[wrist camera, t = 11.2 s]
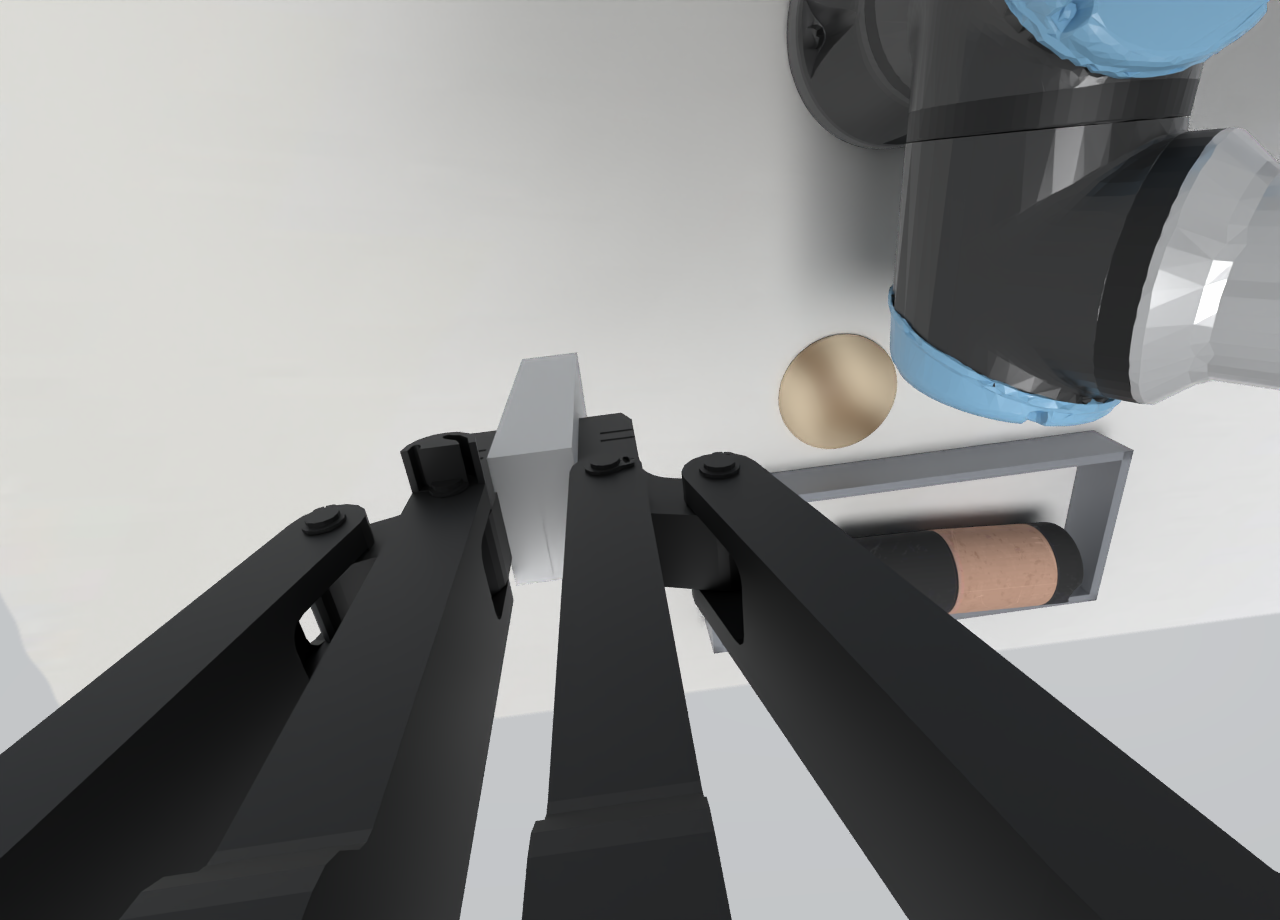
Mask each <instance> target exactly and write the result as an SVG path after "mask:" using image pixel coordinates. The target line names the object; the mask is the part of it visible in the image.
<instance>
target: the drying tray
mask: <svg viewBox="0 0 1280 920" xmlns="http://www.w3.org/2000/svg"><path fill="white" fill-rule="evenodd" d="M1133 451H1134V450H1132V449H1130V448H1128V447H1126V446H1124V445H1122V444H1120V443H1118V442H1116V441H1114V440H1112V439H1110V438H1108V437H1106V436H1104V435H1102V434H1100V433H1098V432H1096V431H1087V432H1079V433H1072V434H1064V435H1056V436H1049V437H1041V438H1034V439H1026V440H1019V441H1011V442H1003V443H996V444H988V445H981V446H973V447H966V448H958V449H950V450H943V451H935V452H928V453H920V454H913V455H905V456H897V457H890V458H882V459H875V460H867V461H860V462H852V463H844V464H837V465H829V466H822V467H814V468H806V469H799V470H791V471H784V472H776V473H771V474H772V475H773V476H774V477H776V478H777V479H778V480H780V481H781V482H782V483H783V484H785V485H786V486H787V487H788V488H790V489H791V490H792V491H793V492H795V493H796V494H797V495H799V496H800V497H801V498H802V499H804V500H805V501H806V502H812V501H820V500H827V499H835V498H842V497H850V496H857V495H865V494H872V493H880V492H887V491H895V490H902V489H910V488H917V487H925V486H932V485H940V484H947V483H955V482H962V481H970V480H977V479H985V478H992V477H1000V476H1007V475H1015V474H1022V473H1030V472H1037V471H1045V470H1052V469H1060V468H1067V467H1075V466H1078V468H1077V473H1076V478H1075V482H1074V487H1073V492H1072V497H1071V501H1070V506H1069V511H1068V516H1067V520H1066V525H1065V531H1067V533H1068V534H1069V535H1070V536H1071V537H1072V538H1073V540H1074V542H1075V543H1076V545H1077V547H1078V549H1079V552H1080V554H1081V558H1082V562H1083V570H1084V576H1083V582H1082V584H1081V585H1080V586H1079V587H1078V588H1076V589H1075V591H1074V592H1073V593H1072V594H1071V596H1070V597H1069V599H1068V600H1069V602H1067V603H1061V604H1049V605H1039V606H1029V607H1018V608H1008V609H998V610H988V611H977V612H967V613H957V614H949V615H951V616H952V617H953V618H954V619H956V620H957V619H964V618H971V617H978V616H986V615H993V614H1000V613H1007V612H1014V611H1021V610H1029V609H1036V608H1043V607H1050V606H1057V605H1064V604H1072V603H1079V602H1086V601H1093V600H1096V599H1097V595H1098V591H1099V587H1100V583H1101V579H1102V575H1103V571H1104V567H1105V563H1106V559H1107V555H1108V551H1109V547H1110V543H1111V539H1112V535H1113V531H1114V527H1115V523H1116V519H1117V515H1118V511H1119V507H1120V503H1121V499H1122V495H1123V491H1124V487H1125V483H1126V479H1127V475H1128V471H1129V467H1130V463H1131V459H1132V455H1133ZM705 621H706V626H707V629H708V633H709V637H710V640H711V644H712V648H713V652H714V653H720V652H728V651H727V649H726V648H725V647H724V645H723V644H722V642H721V641H720V639H719V638H718V636H717V635H716V633H715V632H714V630H713V629H712V627H711V626H710V624H709V623H708V621H707V620H706V618H705Z"/></svg>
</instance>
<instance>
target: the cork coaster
mask: <svg viewBox="0 0 1280 920" xmlns="http://www.w3.org/2000/svg"><path fill="white" fill-rule="evenodd" d="M896 390H897V376H896V371H895V367H894V365H893V362H892V360H891V359H890V357H889V355H888V354H887V353H886V352H885V351H884V349H882V348H881V347H880V346H879V345H877V344H876V343H874V342H873V341H871V340H869V339H867V338H864V337H861V336H858V335H851V334H840V335H833V336H829V337H826V338H823V339H821V340H818V341H816V342H815V343H813V344H811V345H810V346H808V347H807V348H805V349H804V350H803V351H802V352H801V353H800V354H798V355H797V357H796V358H795V359H794V360H793V361H792V363H791V364H790V366H789V367H788V368H787V370H786V372H785V374H784V376H783V379H782V382H781V386H780V390H779V408H780V413H781V416H782V419H783V421H784V423H785V425H786V426H787V427H788V429H789V430H790V431H791V432H792V434H793V435H794V436H795V437H797V438H798V439H799V440H801V441H802V442H804V443H806V444H808V445H810V446H813V447H817V448H823V449H836V448H842V447H846V446H850V445H852V444H855V443H857V442H859V441H861V440H863V439H864V438H866V437H867V436H869V435H870V434H871V433H872V432H874V431H875V430H876V429H877V428H878V427H879V426H880V425H881V424H882V422H883V421H884V420H885V418H886V417H887V415H888V413H889V412H890V410H891V408H892V405H893V403H894V399H895V396H896Z"/></svg>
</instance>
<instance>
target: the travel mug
mask: <svg viewBox="0 0 1280 920" xmlns="http://www.w3.org/2000/svg"><path fill="white" fill-rule="evenodd" d="M853 539H854V540H856V541H857V542H858V543H859V544H861V545H862V546H863V547H864V548H866V549H867V550H868V551H870V552H871V553H872V554H873V555H875V556H876V557H877V558H878V559H880V560H881V561H882V562H883V563H885V564H886V565H887V566H889V567H890V568H891V569H892V570H894V571H895V572H896V573H897V574H899V575H900V576H901V577H902V578H904V579H905V580H906V581H908V582H909V583H910V584H911V585H913V586H914V587H915V588H916V589H918V590H919V591H920V592H921V593H923V594H924V595H925V596H927V597H928V598H929V599H930V600H932V601H933V602H934V603H935V604H937V605H938V606H939V607H941V608H942V609H943V610H944V611H946V612H947V613H948V614H957V613H967V612H977V611H988V610H998V609H1008V608H1018V607H1029V606H1039V605H1049V604H1061V603H1067V602H1069V600H1068V599H1069V597H1070V596H1071V594H1072V593H1073V592H1074V591H1075V589H1076V588H1078V587H1079V586H1080V585H1081V584H1082V582H1083V576H1084V570H1083V562H1082V558H1081V554H1080V552H1079V549H1078V547H1077V545H1076V543H1075V542H1074V540H1073V538H1072V537H1071V536H1070V535H1069V534H1068V533H1067V531H1065V530H1064V529H1063V528H1061V527H1060V526H1058V525H1056V524H1053V523H1048V522H1039V523H1024V524H1010V525H995V526H980V527H965V528H950V529H936V530H924V531H914V532H905V533H896V534H887V535H878V536H869V537H860V538H853Z"/></svg>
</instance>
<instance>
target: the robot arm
mask: <svg viewBox="0 0 1280 920" xmlns="http://www.w3.org/2000/svg"><path fill="white" fill-rule="evenodd" d="M1268 1H1270V0H791V2H790V8H789V15H788V27H787V44H788V55H789V62H790V67H791V71H792V75H793V78H794V82H795V84H796V87H797V90H798V92H799V94H800V96H801V98H802V100H803V102H804V104H805V105H806V107H807V108H808V110H809V111H810V113H811V114H812V115H813V117H814V118H815V119H816V120H817V121H818V122H819V123H820V124H821V125H822V126H823V127H824V128H825V129H826V130H827V131H829V132H830V133H831V134H833V135H834V136H836V137H837V138H839V139H841V140H843V141H845V142H847V143H850V144H853V145H856V146H859V147H864V148H871V149H890V148H899V147H905V154H904V166H903V177H902V188H901V200H900V211H899V223H898V234H897V246H896V257H895V269H894V280H893V285H892V286H891V287H890V289H889V295H888V304H889V308H890V312H891V331H890V353H891V357H892V360H893V362H894V363H895V365H896V367H897V369H898V370H899V372H900V374H901V376H902V377H903V378H904V379H905V380H906V381H907V382H908V383H909V384H911V385H912V386H913V387H914V388H916V389H917V390H918V391H920V392H922V393H923V394H925V395H927V396H928V397H930V398H932V399H934V400H936V401H938V402H941V403H943V404H945V405H948V406H950V407H953V408H956V409H958V410H961V411H964V412H967V413H971V414H974V415H977V416H981V417H985V418H989V419H994V420H999V421H1004V422H1010V423H1018V424H1021V423H1023V422H1025V421H1026V420H1031V421H1034V422H1036V423H1039V424H1041V425H1044V426H1072V425H1079V424H1084V423H1089V422H1093V421H1095V420H1097V419H1099V418H1102V417H1103V416H1105V415H1107V414H1108V413H1109V412H1111V411H1112V409H1113V408H1114V407H1115V406H1116V405H1118V404H1119V403H1120V402H1121V400H1123V401H1128V402H1134V403H1139V404H1150V405H1154V404H1156V403H1158V402H1161V401H1163V400H1165V399H1167V398H1169V397H1171V396H1173V395H1175V394H1177V393H1179V392H1181V391H1183V390H1185V389H1188V388H1190V387H1192V386H1194V385H1196V384H1200V383H1205V382H1209V381H1220V382H1227V383H1234V384H1240V385H1247V386H1254V387H1261V388H1267V389H1274V390H1280V162H1277V161H1276V159H1275V158H1274V157H1273V156H1272V155H1271V154H1270V153H1269V152H1268V151H1267V150H1266V149H1265V148H1264V147H1263V146H1262V145H1261V144H1260V143H1259V142H1258V141H1257V140H1256V139H1255V138H1254V137H1253V136H1252V135H1251V134H1250V133H1249V132H1248V131H1247V130H1245V129H1243V128H1224V129H1212V130H1200V131H1188V124H1189V117H1183V116H1190V115H1191V110H1192V106H1193V103H1194V99H1195V95H1196V91H1197V87H1198V83H1199V80H1200V76H1201V72H1202V69H1203V65H1204V62H1205V61H1206V60H1207V59H1208V58H1209V57H1211V56H1212V55H1213V54H1217V53H1218V52H1219V51H1220V50H1221V49H1223V48H1225V47H1226V46H1228V45H1229V44H1231V43H1232V42H1234V41H1235V40H1237V39H1238V38H1240V37H1241V36H1242V35H1244V34H1245V33H1246V32H1247V31H1249V30H1250V29H1251V28H1252V27H1254V26H1255V25H1256V24H1257V23H1258V22H1259V21H1260V20H1261V19H1262V17H1263V16H1264V15H1265V13H1266V12H1267V4H1266V3H1267V2H1268ZM400 453H401V456H402V459H403V463H404V466H405V469H406V473H407V476H408V480H409V483H410V486H411V490H412V495H411V497H410V499H409V500H408V502H407V504H406V506H405V508H404V509H403V511H402V513H401V515H399V516H396V517H393V518H389V519H386V520H382V521H378V522H375V523H371V524H370V523H369V520H368V517H367V514H366V512H365V509H364V508H362V507H360V506H359V505H350V504H345V505H329V506H326V508H324V507H321V508H318V509H315V510H314V511H313V512H312V513H309V514H307V515H305V516H302V517H301V518H299V519H298V520H296V521H294V522H293V523H291V524H290V525H289V526H287V527H286V528H285V529H284V530H282V531H281V532H280V533H279V534H277V535H276V536H275V537H274V538H272V539H271V540H270V541H269V542H267V543H266V544H265V545H264V546H262V547H261V548H260V549H258V550H257V551H256V552H255V553H253V554H252V555H251V556H250V557H248V558H247V559H246V560H245V561H243V562H242V563H241V564H240V565H238V566H237V567H236V568H235V569H233V570H232V571H231V572H230V573H228V574H227V575H226V576H225V577H223V578H222V579H221V580H219V581H218V582H217V583H216V584H214V585H213V586H212V587H211V588H209V589H208V590H207V591H206V592H204V593H203V594H202V595H201V596H199V597H198V598H197V599H196V600H194V601H193V602H192V603H191V604H189V605H188V606H187V607H185V608H184V609H183V610H182V611H180V612H179V613H178V614H177V615H175V616H174V617H173V618H172V619H170V620H169V621H168V622H167V623H165V624H164V625H163V626H162V627H160V628H159V629H158V630H157V631H155V632H154V633H153V634H152V635H150V636H149V637H148V638H146V639H145V640H144V641H143V642H141V643H140V644H139V645H138V646H136V647H135V648H134V649H133V650H131V651H130V652H129V653H128V654H126V655H125V656H124V657H123V658H121V659H120V660H119V661H118V662H116V663H115V664H114V665H113V666H111V667H110V668H109V669H107V670H106V671H105V672H104V673H102V674H101V675H100V676H99V677H97V678H96V679H95V680H94V681H92V682H91V683H90V684H89V685H87V686H86V687H85V688H84V689H82V690H81V691H80V692H79V693H77V694H76V695H75V696H73V697H72V698H71V699H70V700H68V701H67V702H66V703H65V704H63V705H62V706H61V707H60V708H58V709H57V710H56V711H55V712H53V713H52V714H51V715H50V716H48V717H47V718H46V719H45V720H43V721H42V722H41V723H40V724H38V725H37V726H36V727H35V728H33V729H32V730H31V731H29V732H28V733H27V734H26V735H24V736H23V737H22V738H21V739H19V740H18V741H17V742H16V743H14V744H13V745H12V746H11V747H9V748H8V749H7V750H6V751H4V752H3V753H2V754H0V920H459V919H460V913H461V907H462V901H463V895H464V889H465V883H466V878H467V872H468V866H469V860H470V854H471V848H472V842H473V836H474V830H475V824H476V819H477V812H478V807H479V801H480V795H481V789H482V783H483V777H484V771H485V765H486V759H487V754H488V747H489V742H490V735H491V730H492V724H493V718H494V712H495V706H496V700H497V695H498V689H499V683H500V677H501V671H502V665H503V659H504V653H505V647H506V641H507V635H508V630H509V624H510V618H511V612H512V606H513V595H512V591H511V586H510V582H509V578H508V577H509V572H510V567H511V565H512V569H513V573H514V578H515V582H516V586H517V585H524V584H531V583H539V582H546V581H554V580H561V579H562V594H561V609H560V624H559V640H558V655H557V670H556V686H555V701H554V718H553V732H552V747H551V762H550V763H551V764H550V778H549V794H548V805H547V814H546V817H545V820H540V821H536V822H535V824H534V827H533V830H532V832H531V837H530V845H529V851H528V858H527V869H526V880H525V891H524V902H523V913H522V920H732V919H731V914H730V909H729V904H728V898H727V894H726V888H725V883H724V878H723V872H722V867H721V862H720V857H719V852H718V846H717V841H716V836H715V831H714V826H713V822H712V817H711V813H710V807H709V804H708V801H707V797H704V795H703V791H702V787H701V781H700V776H699V771H698V765H697V760H696V754H695V749H694V744H693V738H692V733H691V728H690V723H689V718H688V711H687V706H686V700H685V695H684V690H683V684H682V679H681V674H680V668H679V663H678V657H677V652H676V647H675V641H674V636H673V630H672V625H671V620H670V614H669V609H668V603H667V598H666V593H665V587H675V588H687V589H692V595H693V598H694V601H695V604H696V605H697V607H698V608H699V610H700V611H701V612H702V614H703V615H704V617H705V618H706V620H707V621H708V623H709V624H710V626H711V627H712V629H713V630H714V632H715V633H716V635H717V636H718V638H719V639H720V641H721V642H722V644H723V645H724V647H725V648H726V649H727V651H728V652H729V654H730V655H731V657H732V658H733V660H734V661H735V663H736V664H737V666H738V667H739V669H740V670H741V672H742V673H743V675H744V676H745V678H746V679H747V681H748V682H749V684H750V685H751V687H752V688H753V689H754V691H755V692H756V694H757V695H758V697H759V698H760V700H761V701H762V703H763V704H764V706H765V707H766V709H767V710H768V712H769V713H770V714H771V716H772V718H773V719H774V721H775V722H776V724H777V725H778V726H779V728H780V729H781V731H782V732H783V734H784V735H785V737H786V738H787V740H788V741H789V742H790V744H791V746H792V747H793V749H794V750H795V752H796V753H797V755H798V756H799V757H800V759H801V761H802V762H803V763H804V765H805V766H806V768H807V769H808V771H809V772H810V774H811V775H812V777H813V778H814V780H815V781H816V783H817V784H818V786H819V787H820V789H821V790H822V791H823V793H824V795H825V796H826V797H827V799H828V800H829V802H830V803H831V805H832V806H833V808H834V809H835V811H836V812H837V814H838V815H839V817H840V818H841V820H842V821H843V822H844V824H845V826H846V827H847V829H848V830H849V832H850V833H851V835H852V836H853V837H854V839H855V840H856V842H857V843H858V845H859V846H860V848H861V849H862V851H863V852H864V854H865V855H866V857H867V858H868V860H869V861H870V863H871V864H872V866H873V867H874V868H875V870H876V872H877V873H878V874H879V876H880V878H881V879H882V880H883V882H884V883H885V885H886V886H887V888H888V889H889V891H890V892H891V894H892V895H893V897H894V898H895V900H896V901H897V903H898V904H899V906H900V907H901V909H902V910H903V912H904V913H905V915H906V916H907V917H908V919H909V920H1280V873H1278V872H1276V871H1274V870H1273V869H1271V868H1270V867H1269V866H1267V865H1266V864H1265V863H1264V862H1262V861H1261V860H1260V859H1259V858H1257V857H1256V856H1255V855H1253V854H1252V853H1251V852H1250V851H1249V850H1247V849H1246V848H1245V847H1243V846H1242V845H1241V844H1240V843H1238V842H1237V841H1236V840H1235V839H1233V838H1232V837H1231V836H1229V835H1228V834H1227V833H1226V832H1224V831H1223V830H1222V829H1221V828H1219V827H1218V826H1217V825H1215V824H1214V823H1213V822H1212V821H1210V820H1209V819H1208V818H1207V817H1205V816H1204V815H1203V814H1201V813H1200V812H1199V811H1198V810H1196V809H1195V808H1194V807H1193V806H1191V805H1190V804H1189V803H1188V802H1186V801H1185V800H1184V799H1183V798H1181V797H1180V796H1179V795H1177V794H1176V793H1175V792H1174V791H1172V790H1171V789H1170V788H1168V787H1167V786H1166V785H1165V784H1164V783H1162V782H1161V781H1160V780H1159V779H1157V778H1156V777H1155V776H1153V775H1152V774H1151V773H1149V772H1148V771H1147V770H1146V769H1145V768H1143V767H1142V766H1141V765H1139V764H1138V763H1137V762H1136V761H1134V760H1133V759H1132V758H1130V757H1129V756H1128V755H1127V754H1126V753H1124V752H1123V751H1122V750H1120V749H1119V748H1118V747H1117V746H1115V745H1114V744H1113V743H1112V742H1110V741H1109V740H1108V739H1107V738H1105V737H1104V736H1103V735H1101V734H1100V733H1099V732H1098V731H1096V730H1095V729H1094V728H1093V727H1091V726H1090V725H1089V724H1087V723H1086V722H1085V721H1084V720H1082V719H1081V718H1080V717H1079V716H1077V715H1076V714H1075V713H1074V712H1072V711H1071V710H1070V709H1069V708H1067V707H1066V706H1065V705H1063V704H1062V703H1061V702H1059V701H1058V700H1057V699H1056V698H1055V697H1053V696H1052V695H1051V694H1049V693H1048V692H1047V691H1046V690H1044V689H1043V688H1042V687H1040V686H1039V685H1038V684H1037V683H1036V682H1034V681H1033V680H1032V679H1030V678H1029V677H1028V676H1026V675H1025V674H1024V673H1023V672H1021V671H1020V670H1019V669H1018V668H1016V667H1015V666H1014V665H1013V664H1011V663H1010V662H1009V661H1008V660H1006V659H1005V658H1004V657H1002V656H1001V655H1000V654H999V653H998V652H996V651H995V650H994V649H992V648H991V647H990V646H989V645H987V644H986V643H985V642H984V641H982V640H981V639H980V638H979V637H977V636H976V635H975V634H973V633H972V632H971V631H970V630H968V629H967V628H966V627H965V626H963V625H962V624H961V623H960V622H958V621H957V620H956V619H954V618H953V617H952V616H951V615H949V614H948V613H947V612H946V611H944V610H943V609H942V608H941V607H939V606H938V605H937V604H935V603H934V602H933V601H932V600H930V599H929V598H928V597H927V596H925V595H924V594H923V593H921V592H920V591H919V590H918V589H916V588H915V587H914V586H913V585H911V584H910V583H909V582H908V581H906V580H905V579H904V578H902V577H901V576H900V575H899V574H897V573H896V572H895V571H894V570H892V569H891V568H890V567H889V566H887V565H886V564H885V563H883V562H882V561H881V560H880V559H878V558H877V557H876V556H875V555H873V554H872V553H871V552H870V551H868V550H867V549H866V548H864V547H863V546H862V545H861V544H859V543H858V542H857V541H856V540H854V539H853V538H852V537H851V536H849V535H848V534H847V533H845V532H844V531H843V530H842V529H840V528H839V527H838V526H837V525H835V524H834V523H833V522H831V521H830V520H829V519H828V518H826V517H825V516H824V515H823V514H821V513H820V512H819V511H818V510H816V509H815V508H814V507H812V506H811V505H810V504H809V503H807V502H806V501H805V500H804V499H802V498H801V497H800V496H799V495H797V494H796V493H795V492H793V491H792V490H791V489H790V488H788V487H787V486H786V485H785V484H783V483H782V482H781V481H780V480H778V479H777V478H776V477H774V476H773V475H772V474H771V473H769V472H768V471H767V470H766V469H764V468H763V467H762V466H761V465H759V464H758V463H757V462H755V461H754V460H752V459H750V458H748V457H746V456H743V455H738V454H733V453H731V452H724V453H722V452H715V453H712V454H709V455H704V456H701V457H698V458H695V459H692V460H691V461H690V462H688V463H687V464H685V465H684V467H683V469H682V479H679V478H664V477H659V476H655V475H652V474H650V473H647V472H646V471H645V470H643V469H642V463H641V461H640V460H639V457H638V451H637V446H636V441H635V435H634V430H633V425H632V419H630V418H628V417H627V416H625V415H624V414H622V413H616V414H608V415H600V416H592V417H587V415H586V408H585V402H584V395H583V389H582V382H581V376H580V369H579V363H578V356H577V353H569V354H562V355H554V356H546V357H538V358H530V359H522V361H521V364H520V367H519V370H518V373H517V375H516V378H515V381H514V384H513V387H512V389H511V392H510V395H509V398H508V401H507V403H506V406H505V409H504V412H503V415H502V417H501V420H500V423H499V426H498V429H497V431H489V432H481V433H473V434H469V433H462V432H450V433H442V434H437V435H432V436H429V437H425V438H422V439H419V440H417V441H415V442H413V443H411V444H409V445H407V446H406V447H405V448H404V449H403V450H402V451H400ZM310 607H311V609H312V611H313V614H314V616H315V619H316V621H317V624H318V626H319V628H320V631H321V633H320V635H319V636H318V637H317V638H316V639H315V640H314V641H312V642H311V643H310V642H309V641H308V640H307V639H306V637H305V634H304V632H303V630H302V627H301V625H300V623H299V620H300V619H301V617H302V615H303V614H304V613H305V612H306V611H307V610H308V609H309V608H310Z"/></svg>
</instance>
